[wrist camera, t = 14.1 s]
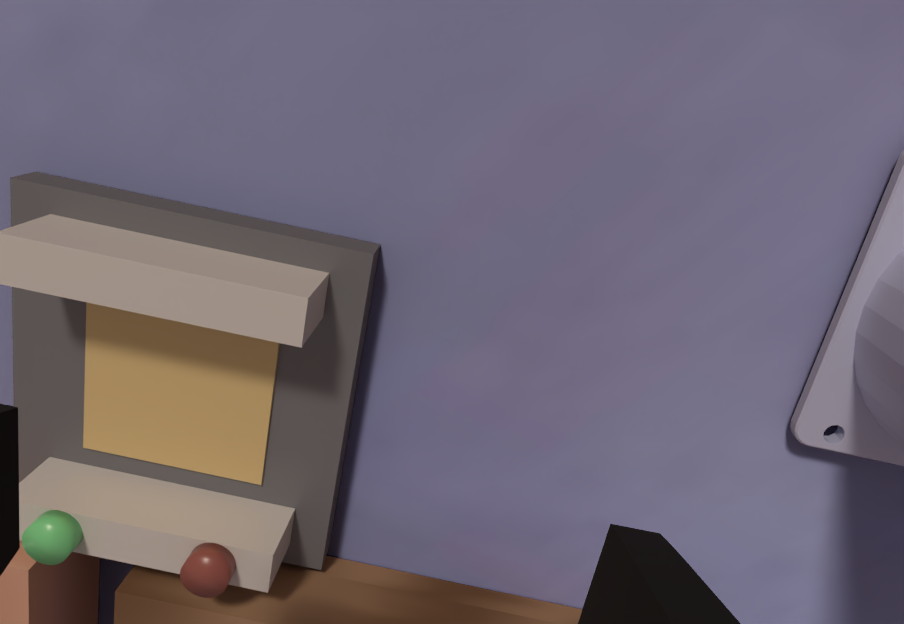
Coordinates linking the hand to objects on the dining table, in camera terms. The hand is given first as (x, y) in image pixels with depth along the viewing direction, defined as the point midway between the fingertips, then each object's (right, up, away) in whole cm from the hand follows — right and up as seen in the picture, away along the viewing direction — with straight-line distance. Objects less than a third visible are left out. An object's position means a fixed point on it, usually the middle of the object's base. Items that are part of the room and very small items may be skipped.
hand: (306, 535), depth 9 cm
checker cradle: (-5, +1, +11) cm, 12 cm away
